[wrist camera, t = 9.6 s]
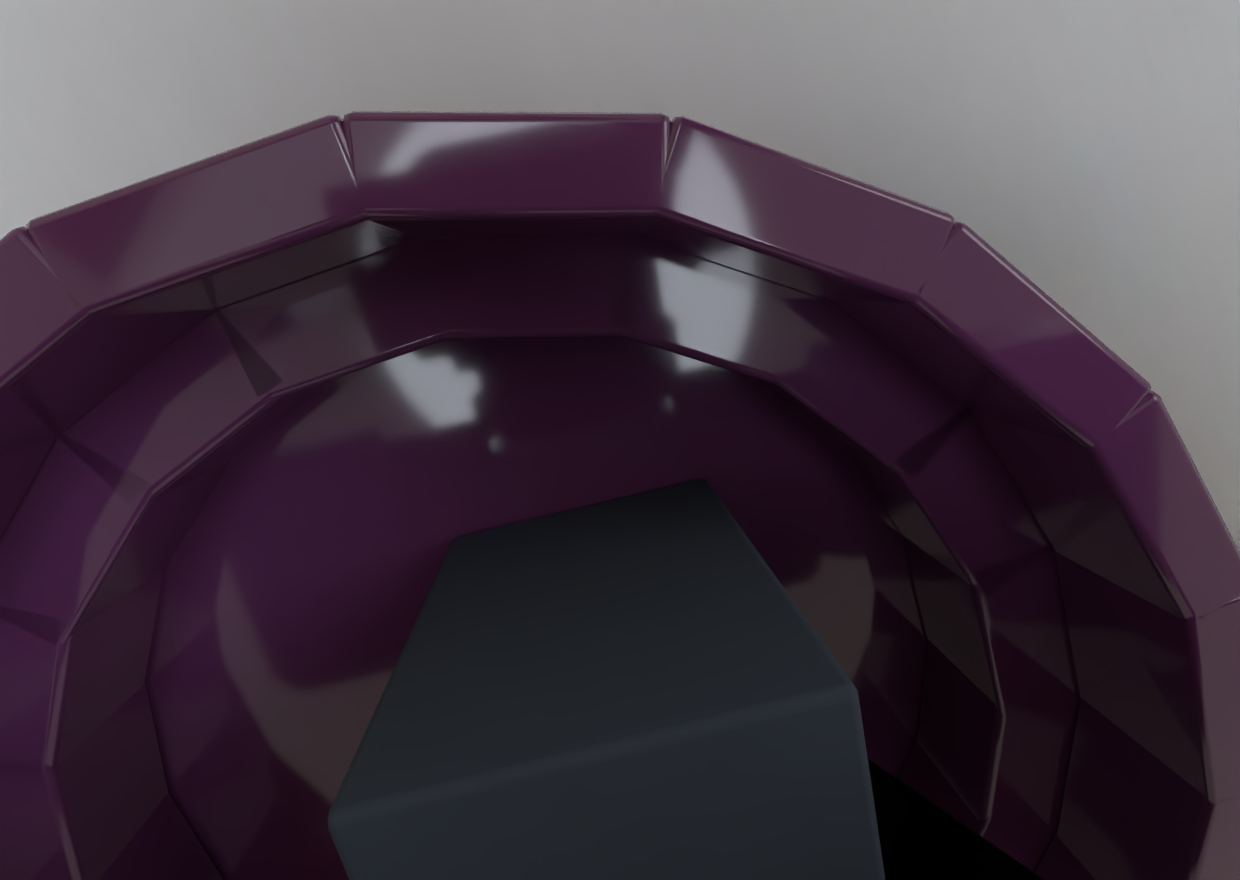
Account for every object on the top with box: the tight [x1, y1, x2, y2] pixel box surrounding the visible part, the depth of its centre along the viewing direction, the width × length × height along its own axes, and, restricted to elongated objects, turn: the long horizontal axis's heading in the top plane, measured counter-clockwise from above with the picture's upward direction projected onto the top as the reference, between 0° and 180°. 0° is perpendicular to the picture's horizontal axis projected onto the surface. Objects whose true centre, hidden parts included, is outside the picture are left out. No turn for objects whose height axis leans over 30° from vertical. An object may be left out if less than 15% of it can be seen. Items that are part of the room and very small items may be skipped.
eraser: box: [328, 479, 885, 880], centre depth 6 cm, size 6×3×4 cm, turn 13°
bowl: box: [0, 111, 1240, 880], centre depth 7 cm, size 12×12×4 cm
